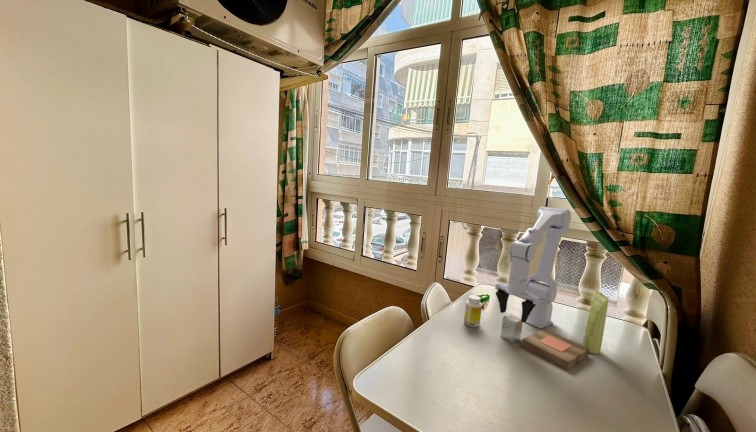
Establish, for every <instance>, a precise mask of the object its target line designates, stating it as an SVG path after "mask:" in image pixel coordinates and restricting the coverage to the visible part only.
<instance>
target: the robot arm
mask: <svg viewBox="0 0 756 432" xmlns="http://www.w3.org/2000/svg"><path fill="white" fill-rule="evenodd" d="M536 218H537V220H536V222H535V223H534V225H533V227H530V228H528V229H526V231H525V232H523V234H522V236H521V237H520V238H519V239H518V240H516V241H513V242H512V243H510V245H509V249H508V255H509V263H510V266H509V275H508V280H507V282H508V283H507V284H503V283H499V282H498V283H496V284H495V286H494V287H495V290H497V291H495V295H496V298H497V300H498V304H499V311H500V313H501V314H503V313H506V311H507V306H508V300H509V297H510V296H514V297H517V298H519V299H522V300H523V301H521V310H522V312H521V318H520V319H521V322H523V323H527V324H529V325H531V326H534V327H536V328H538V329H541V330H542V329H544V328H545V327H548V326H550V325H552V324H553V323H554V322H553V321H552V316H553V315H552V313H553V302H554V301H555V299H556V298H557V292H558V291H557V290H558V284H557V281H555V279H554V278H553V277H552V273H553V268H554V265H555V261H556V257H557V255H558V254H557V253H558V250H559V245H560V242H561V238H562V236H563V234H566V233H568V230H569V228H570V223H571V220H572V214H571V211H570V209H568V208H558V207H557V208H556V207H550V206H549V207H547V206H541V207H539V208H538V210H537V214H536ZM544 233H546V235H545V238H544V235H543V234H544ZM543 239H544V243H543V247H542V251H541V255H540V258H539V263H538V266H537V270H536V272H535V273H533V274H530V268H531V267H530V266H531V262H532V261H533V260H534V258H535V255H536V253H537V247H539V245H540V244H541V242H542V241H543Z"/></svg>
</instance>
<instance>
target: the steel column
mask: <svg viewBox="0 0 756 432" xmlns="http://www.w3.org/2000/svg"><path fill="white" fill-rule="evenodd" d="M501 323H502V324H501V332H500V337H501V338H503V339H505V340H507V341H509V342H510V343H515V342H517V341H519V340H521V336H522V329H523V324H524V322H521V318H520V317H518V316H516V315H513V314H508V315H504V316H502V322H501Z"/></svg>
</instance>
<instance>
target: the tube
mask: <svg viewBox="0 0 756 432" xmlns="http://www.w3.org/2000/svg"><path fill="white" fill-rule="evenodd" d="M609 299H610V298H609V297H608V296H606V295H605V294H603V293H602V292H600V291H599V290H597V288H595V289H594V292H593V296H592V299H591V303H590V308H589V312H588V315H587V320H586V325H585V329H584V335H583V340H582V344H581V345H582V346H584V347H586V348H588V349H589V353H590V354H595V355H598V354H600V353H601V351H602V350H601V349H602V348H601V347H602V344H603V340H604V339H603V338H604V332H605V325H606V322H607V321H606V320H607V312H608V308H609V307H608V306H609Z"/></svg>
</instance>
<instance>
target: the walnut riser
mask: <svg viewBox="0 0 756 432" xmlns="http://www.w3.org/2000/svg"><path fill="white" fill-rule="evenodd" d="M520 347H521V348H523V349H525V350H527V351H528V352H531V353H533V354H535V355H537V356H539V357H541V358H543V359H545V360H547V361H549V362H551V363H552V364H554V365H556V366H559V367H560V368H562V369H565V370H566V371H567V370H569V369H571V368H573V367H574V366H575V365H577V364H579V363H580V362H581V361H583V360H584V359H586V358H587V357H589V353H590V352H589V349H588V348H586V347H584V346H582V344H579V343H577V342H575V341H572V340H570V339H568V338H566V337H564V336H561V335H559V334H556V333H554V332H551V330H550V331H549V330H547V329H545V328H542V329H541V330H539V331H537V332H535V333H532V334H530V335H528V336H526V337H524V338H522V339H521V346H520Z"/></svg>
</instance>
